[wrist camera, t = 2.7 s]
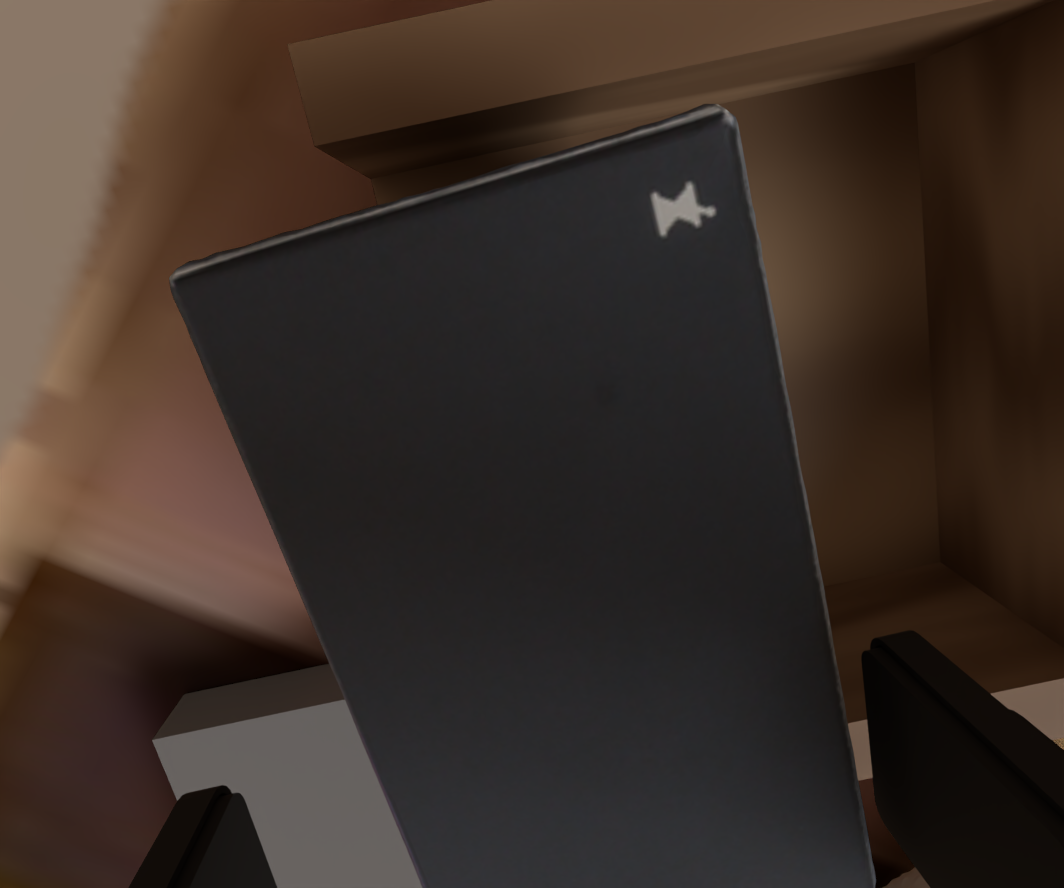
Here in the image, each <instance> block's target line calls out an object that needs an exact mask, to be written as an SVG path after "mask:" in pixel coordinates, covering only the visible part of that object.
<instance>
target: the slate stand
mask: <svg viewBox="0 0 1064 888" xmlns="http://www.w3.org/2000/svg"><path fill="white" fill-rule="evenodd" d="M152 741H153V743H154V746H155V748H156V751H157V753H158V755H159V758H160V760H161V763H162V765H163V768H164V770H165V772H166V775H167V777H168V780H169V782H170V784H171V787H172V789H173V792H174V794H175V796H176V799H177V801H178V800H179V798H180V797H181V796H182V795H184V794H186V793H189V792H194V791H198V790H202V789H207V788H211V787H216V786H220V785H225V786H227V787H228V788H229V789H230V790H231V792H232V793H240V794H241V795H242V796H243V797H244V799H245V802H246V804H247V807H248V810H249V813H250V815H251V818H252V821H253V823H254V826H255V829H256V831H257V834H258V837H259V839H260V842H261V845H262V848H263V850H264V853H265V856H266V858H267V861H268V864H269V866H270V869H271V872H272V874H273V877H274V880H275V883H276V885H277V888H422V885H421V883H420V880H419V878H418V875H417V873H416V871H415V868H414V866H413V863H412V861H411V858H410V856H409V853H408V851H407V849H406V846H405V844H404V841H403V839H402V837H401V834H400V832H399V829H398V827H397V825H396V822H395V820H394V817H393V815H392V813H391V810H390V808H389V805H388V803H387V801H386V798H385V796H384V793H383V791H382V789H381V786H380V784H379V781H378V779H377V777H376V774H375V772H374V769H373V767H372V765H371V762H370V760H369V757H368V755H367V753H366V750H365V748H364V746H363V743H362V741H361V738H360V736H359V733H358V731H357V728H356V726H355V723H354V721H353V718H352V716H351V713H350V711H349V708H348V706H347V703H346V701H345V699H344V697H343V694H342V692H341V690H340V687H339V685H338V683H337V680H336V678H335V676H334V673H333V671H332V669H331V666H330V664H325V665H320V666H316V667H311V668H306V669H301V670H297V671H292V672H287V673H282V674H278V675H273V676H268V677H263V678H259V679H254V680H249V681H244V682H240V683H235V684H230V685H225V686H221V687H216V688H211V689H206V690H202V691H197V692H192V693H187V694H184V695H183V697H182V698H181V699H180V701H179V702H178V704H177V705H176V707H175V708H174V709H173V711H172V712H171V714H170V715H169V717H168V718H167V719H166V721H165V722H164V724H163V725H162V727H161V728H160V729H159V731H158V732H157V734H156V735H155V737H154V738H153V739H152Z"/></svg>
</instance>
